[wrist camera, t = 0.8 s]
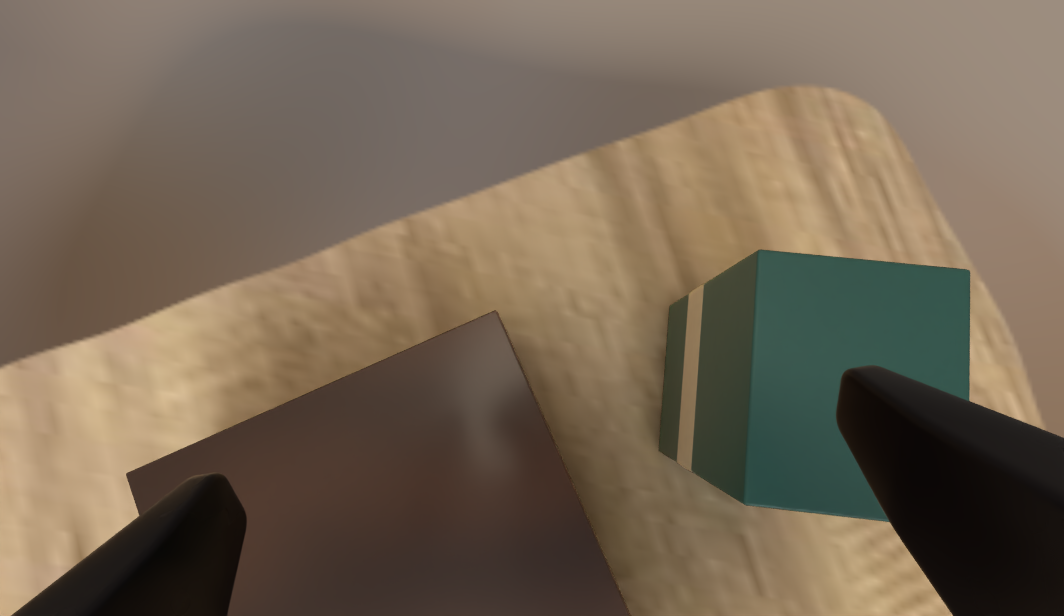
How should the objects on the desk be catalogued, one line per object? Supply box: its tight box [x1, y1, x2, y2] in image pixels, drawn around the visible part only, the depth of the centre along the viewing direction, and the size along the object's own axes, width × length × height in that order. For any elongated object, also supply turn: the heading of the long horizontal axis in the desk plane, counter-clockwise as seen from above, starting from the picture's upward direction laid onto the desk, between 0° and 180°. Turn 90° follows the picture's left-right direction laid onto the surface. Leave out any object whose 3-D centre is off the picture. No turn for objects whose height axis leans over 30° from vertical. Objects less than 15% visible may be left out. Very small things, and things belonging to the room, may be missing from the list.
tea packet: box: [659, 250, 970, 522], centre depth 18 cm, size 5×6×10 cm
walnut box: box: [126, 310, 631, 616], centre depth 20 cm, size 15×14×4 cm
